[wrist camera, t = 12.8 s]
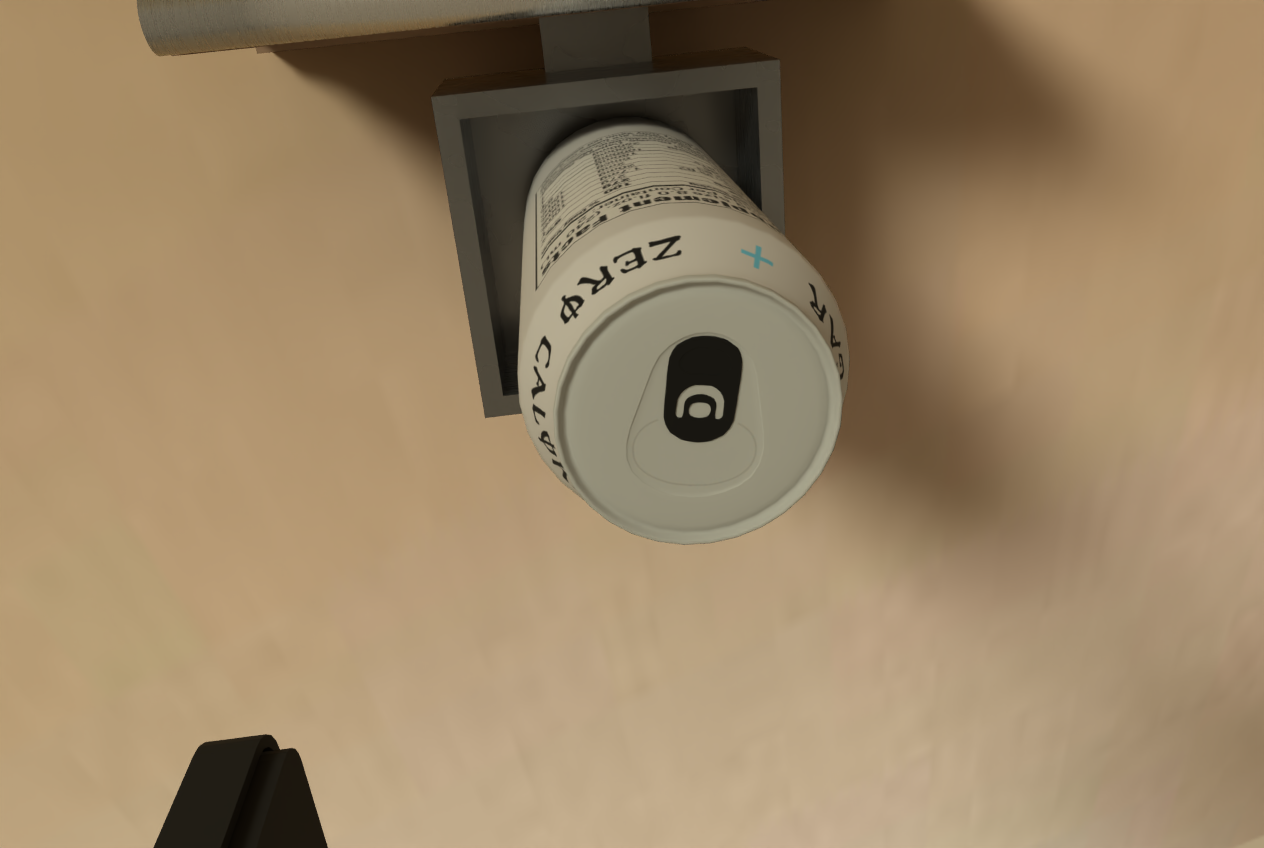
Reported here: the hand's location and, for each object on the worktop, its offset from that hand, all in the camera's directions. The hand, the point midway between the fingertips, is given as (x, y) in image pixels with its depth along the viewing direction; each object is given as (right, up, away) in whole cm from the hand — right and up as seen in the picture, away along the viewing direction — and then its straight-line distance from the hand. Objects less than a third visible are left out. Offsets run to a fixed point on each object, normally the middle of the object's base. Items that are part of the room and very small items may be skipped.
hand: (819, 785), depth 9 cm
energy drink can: (-2, +10, +21) cm, 23 cm away
